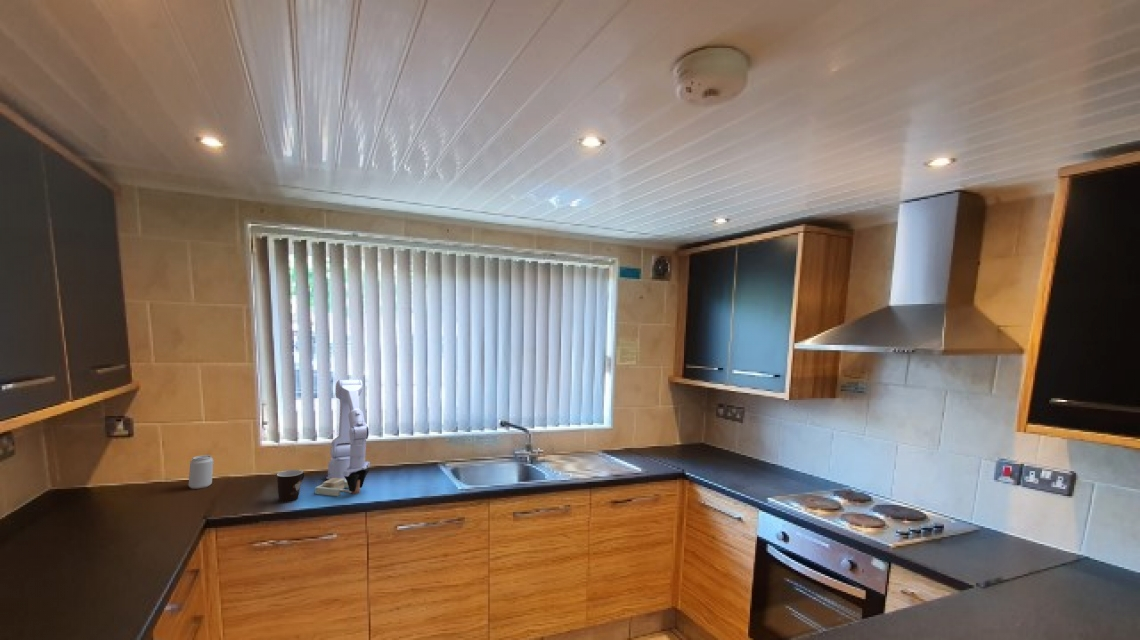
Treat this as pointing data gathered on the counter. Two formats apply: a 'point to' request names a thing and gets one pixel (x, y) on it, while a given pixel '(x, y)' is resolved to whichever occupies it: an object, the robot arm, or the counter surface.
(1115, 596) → the counter surface
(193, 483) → the can
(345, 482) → the lane
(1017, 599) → the counter surface
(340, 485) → the wooden toy mallet
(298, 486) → the coffee mug
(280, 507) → the counter surface
